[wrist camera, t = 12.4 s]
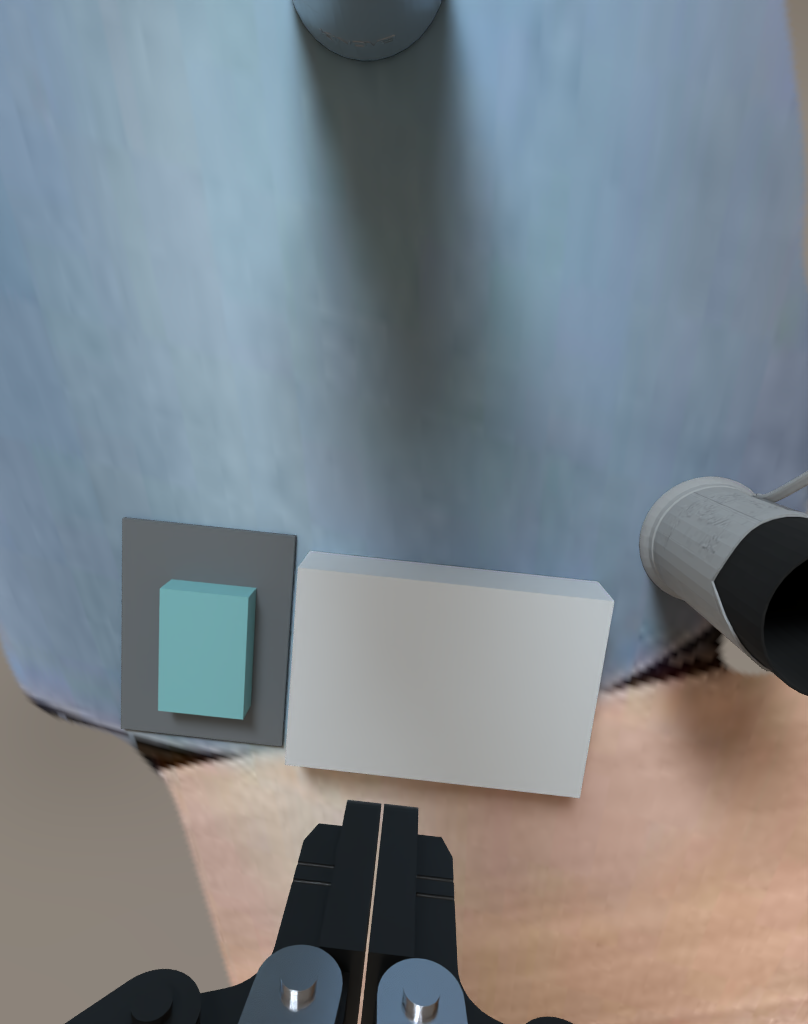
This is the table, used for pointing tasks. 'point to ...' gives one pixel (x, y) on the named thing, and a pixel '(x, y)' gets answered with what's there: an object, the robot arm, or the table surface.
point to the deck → (445, 673)
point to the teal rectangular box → (206, 648)
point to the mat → (219, 560)
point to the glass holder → (737, 566)
